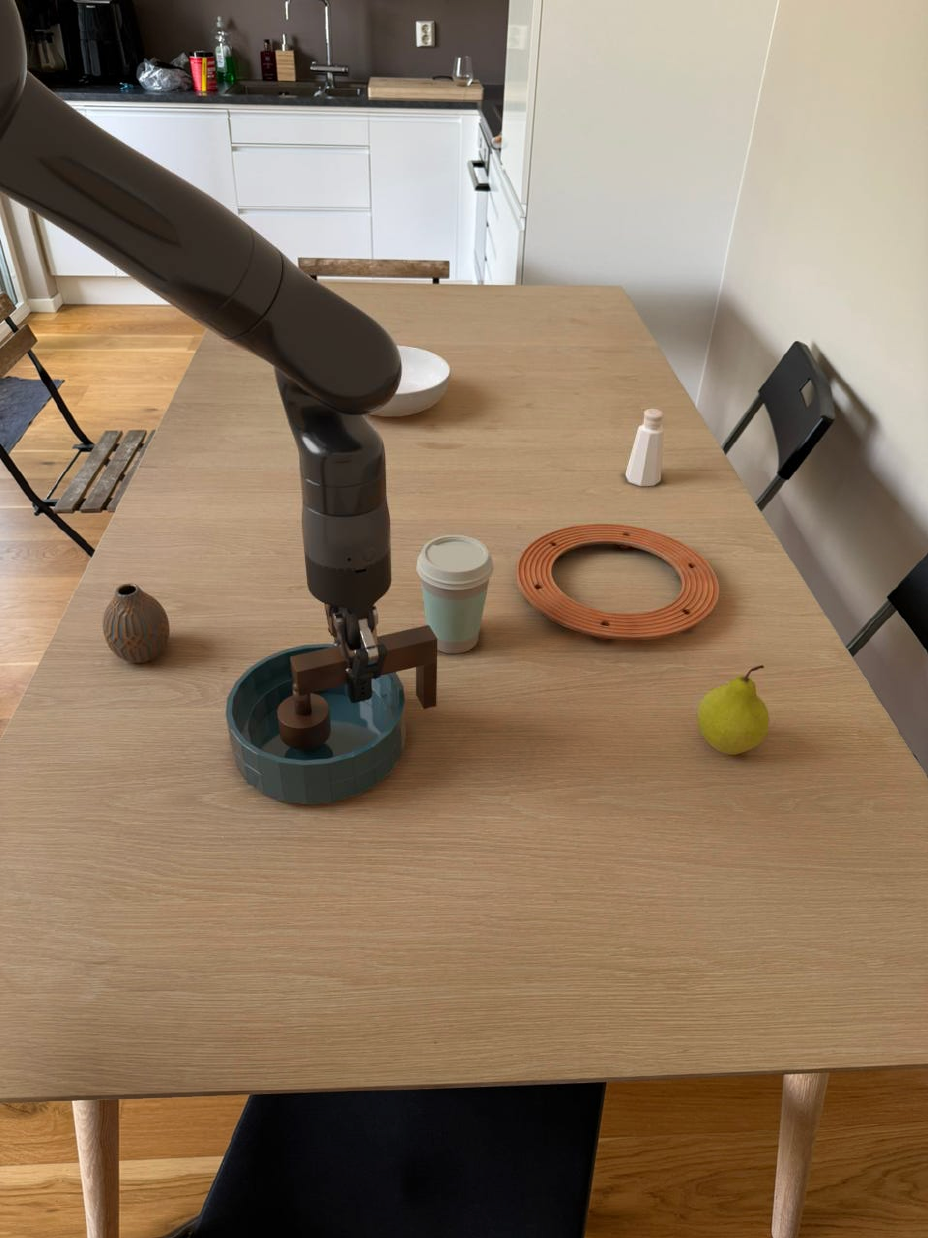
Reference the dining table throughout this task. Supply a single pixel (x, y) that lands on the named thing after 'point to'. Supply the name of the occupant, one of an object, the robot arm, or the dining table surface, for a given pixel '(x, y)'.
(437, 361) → the serving bowl
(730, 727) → the fruit
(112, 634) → the vase
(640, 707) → the dining table surface
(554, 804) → the dining table surface
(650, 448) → the pepper shaker
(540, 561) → the ring
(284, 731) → the brown wooden bracket
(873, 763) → the dining table surface
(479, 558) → the coffee cup
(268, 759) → the mixing bowl
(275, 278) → the robot arm
